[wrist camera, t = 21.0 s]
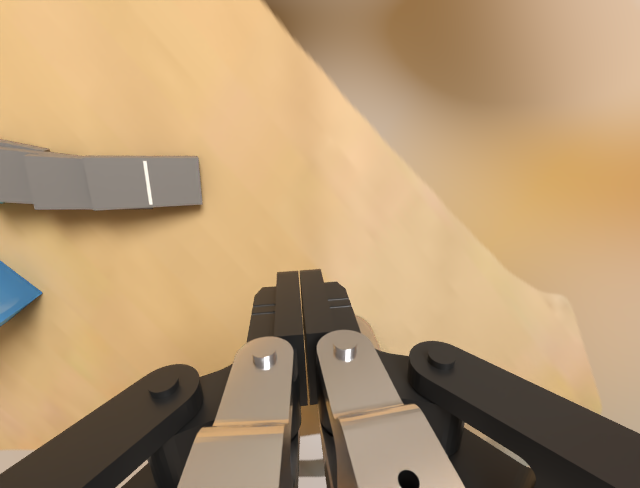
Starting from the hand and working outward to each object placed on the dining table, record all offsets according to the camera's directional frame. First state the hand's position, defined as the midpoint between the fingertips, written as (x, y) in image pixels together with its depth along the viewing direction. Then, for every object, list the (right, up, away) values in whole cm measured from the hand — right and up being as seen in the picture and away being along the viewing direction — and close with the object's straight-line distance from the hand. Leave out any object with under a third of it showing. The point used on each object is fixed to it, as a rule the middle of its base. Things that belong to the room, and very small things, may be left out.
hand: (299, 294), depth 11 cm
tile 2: (-18, +8, +23) cm, 30 cm away
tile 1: (-12, +9, +24) cm, 28 cm away
